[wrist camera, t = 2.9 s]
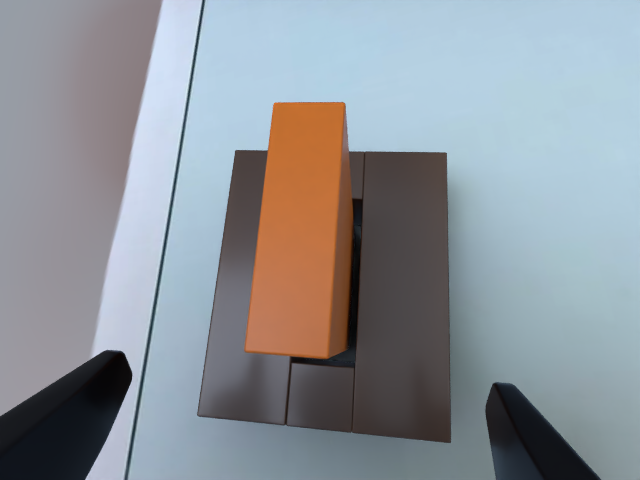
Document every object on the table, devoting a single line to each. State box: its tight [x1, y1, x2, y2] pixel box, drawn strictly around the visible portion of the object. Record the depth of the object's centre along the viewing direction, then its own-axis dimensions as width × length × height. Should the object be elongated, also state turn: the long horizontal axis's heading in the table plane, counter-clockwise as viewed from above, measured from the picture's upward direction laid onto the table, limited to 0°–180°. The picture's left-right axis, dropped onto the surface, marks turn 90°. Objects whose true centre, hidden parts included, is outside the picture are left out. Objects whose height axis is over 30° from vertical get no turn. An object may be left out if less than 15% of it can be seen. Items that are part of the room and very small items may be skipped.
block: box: [244, 102, 355, 359], centre depth 14 cm, size 2×6×12 cm, turn 176°
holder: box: [197, 150, 451, 443], centre depth 18 cm, size 10×12×4 cm
